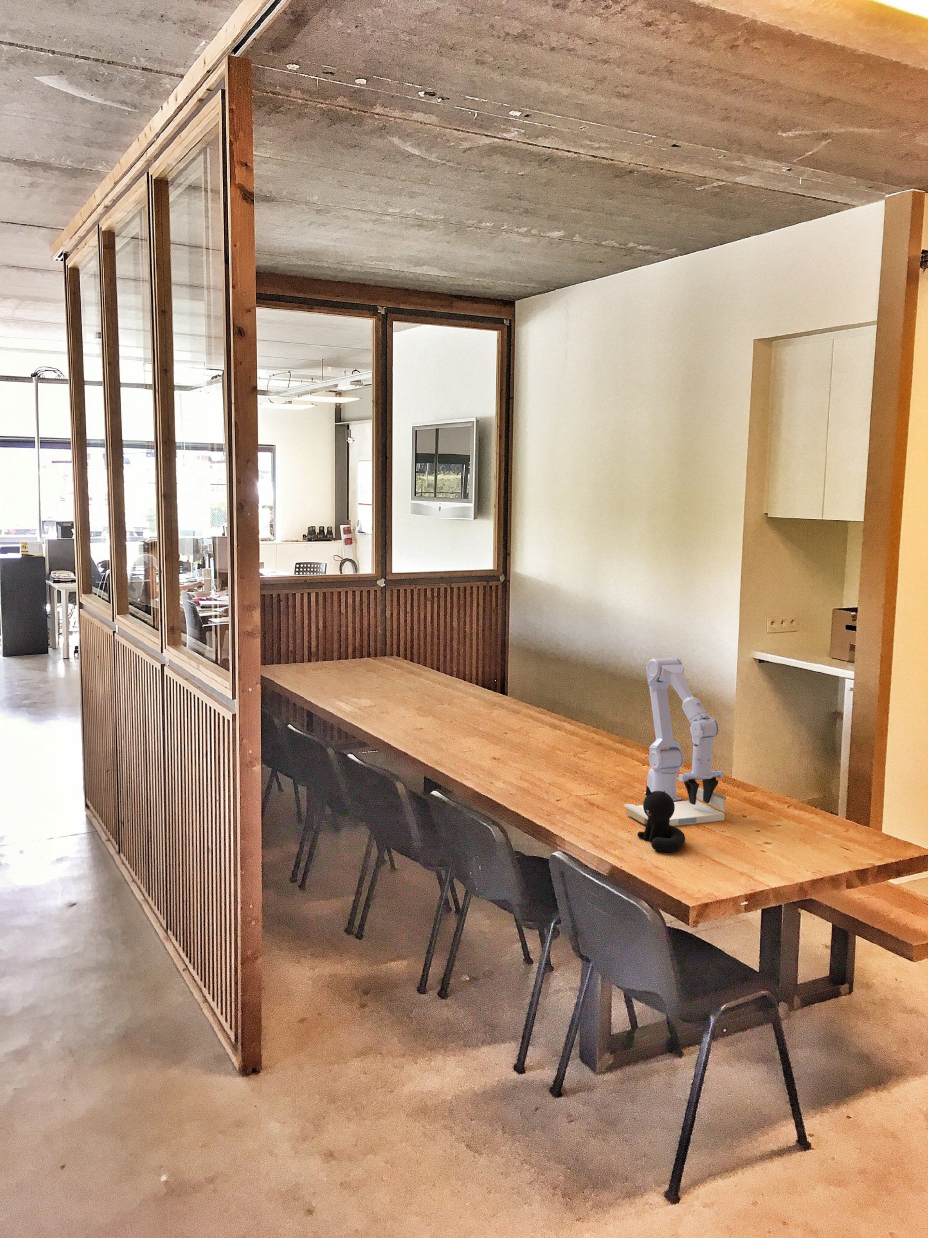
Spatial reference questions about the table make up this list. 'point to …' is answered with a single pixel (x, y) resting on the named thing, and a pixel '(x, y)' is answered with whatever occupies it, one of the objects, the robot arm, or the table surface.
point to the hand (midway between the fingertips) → (699, 803)
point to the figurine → (661, 822)
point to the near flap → (636, 813)
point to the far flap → (713, 799)
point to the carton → (693, 813)
